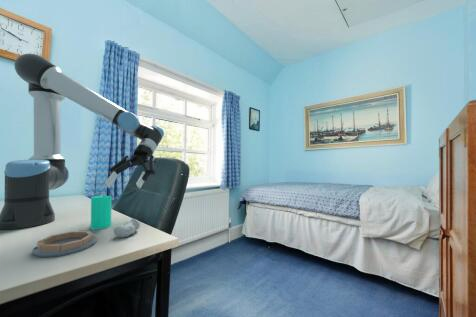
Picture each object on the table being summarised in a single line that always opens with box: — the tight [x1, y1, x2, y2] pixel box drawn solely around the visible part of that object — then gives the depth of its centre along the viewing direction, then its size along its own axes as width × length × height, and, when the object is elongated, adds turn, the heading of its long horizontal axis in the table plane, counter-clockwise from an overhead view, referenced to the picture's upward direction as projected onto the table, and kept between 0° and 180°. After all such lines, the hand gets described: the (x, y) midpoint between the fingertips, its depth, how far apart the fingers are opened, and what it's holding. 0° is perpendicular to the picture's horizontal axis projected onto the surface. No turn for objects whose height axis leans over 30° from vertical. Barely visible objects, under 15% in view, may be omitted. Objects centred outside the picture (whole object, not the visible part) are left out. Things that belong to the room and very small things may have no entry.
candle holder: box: [32, 230, 97, 258], centre depth 56 cm, size 13×13×2 cm
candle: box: [90, 191, 112, 230], centre depth 73 cm, size 6×6×12 cm
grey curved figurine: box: [113, 218, 140, 238], centre depth 65 cm, size 4×8×5 cm
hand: (122, 186), depth 82 cm, fingers open, 13 cm apart
